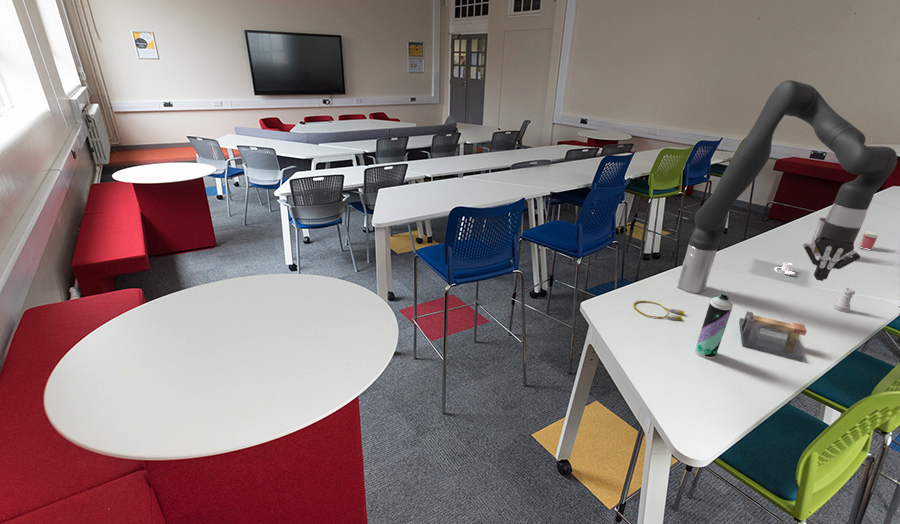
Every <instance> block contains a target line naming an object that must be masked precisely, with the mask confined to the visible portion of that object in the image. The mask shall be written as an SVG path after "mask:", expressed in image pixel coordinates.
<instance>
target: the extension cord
mask: <svg viewBox="0 0 900 524" xmlns="http://www.w3.org/2000/svg"><path fill="white" fill-rule="evenodd" d="M640 303H644V304H645V303H647V304H654V305H657V306H660V307H661V308H663V309H664V310H665V311H666V312H667V313H666V315H664V316H656V315H655V316H654V315H651V314H650V315H649V314H646V313H644V312H642V311H640V310H639V308H637V307H636V306H635V305H637V304H640ZM632 306H633V309H634V311H636V312H637V313H639V314H640V315H641V316H644V317H646V318H648V319H655V320H656V319H657V320H658V319H667V320H671V321H682V319H683V317H682V316H685V315H684V314H685V311H684V310H682V309H678V308H667V307H665V306H663V305H662V304H660V303H658V302H654V301H650V300H649V301H648V300H637V301H636V300H635V302H633V305H632ZM669 311H670V312H671V313H673V315H669V313H670V312H669ZM674 314H675V315H674Z"/></svg>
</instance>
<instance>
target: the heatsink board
mask: <svg viewBox="0 0 900 524" xmlns="http://www.w3.org/2000/svg"><path fill="white" fill-rule="evenodd" d="M748 313H751V314H752V315H754V312H752V311H746V313H745V316H744V318H742V317H741V318H739V320H738V325H739V334H740V339H741V340H740V341H741V347H743V348H748V349H752V350H756V351H761V352H762V353H763V352H764V353H768V354H771V355H773V356H774V355H775V356H779V357H784V358H787V359H791V360H795V361H798V362H803V359H804V354H803V351H802V348H801V345H800V342H799V337H800V336H801V335H800V334H795V333H793V332H790V331H786V330H782V329H777V328H773V327H769V326H765V325H760V324H756V323H754V320H753V319H748V320H747V318H746V315H747V314H748Z"/></svg>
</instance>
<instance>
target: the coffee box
mask: <svg viewBox="0 0 900 524" xmlns="http://www.w3.org/2000/svg"><path fill="white" fill-rule="evenodd" d="M825 220H826V217H820V218H819V220H818V222H817V225H816V227H815V230H814V232H813V236H812V238H811V240H810V243H813V242H814V241H815V240H816V239H817V238H818V237H819V235H820V232H821V230H822V228H823V225H824V223H825ZM812 252H813V254H816V255H815V256H819V255H820V253H819V251H818V249H817V247H816V246H815V250H814V251H812Z"/></svg>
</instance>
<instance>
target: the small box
mask: <svg viewBox="0 0 900 524" xmlns="http://www.w3.org/2000/svg"><path fill="white" fill-rule="evenodd" d="M878 237H879V234H878V232H875V231H869V230H865V232H864V233H863V235H862V238H861V240H860V241H859V244H858V246H859V245H860V247H863V248H868V249H872V250H873V247H874V246H875V243H876V241H877V239H878Z"/></svg>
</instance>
